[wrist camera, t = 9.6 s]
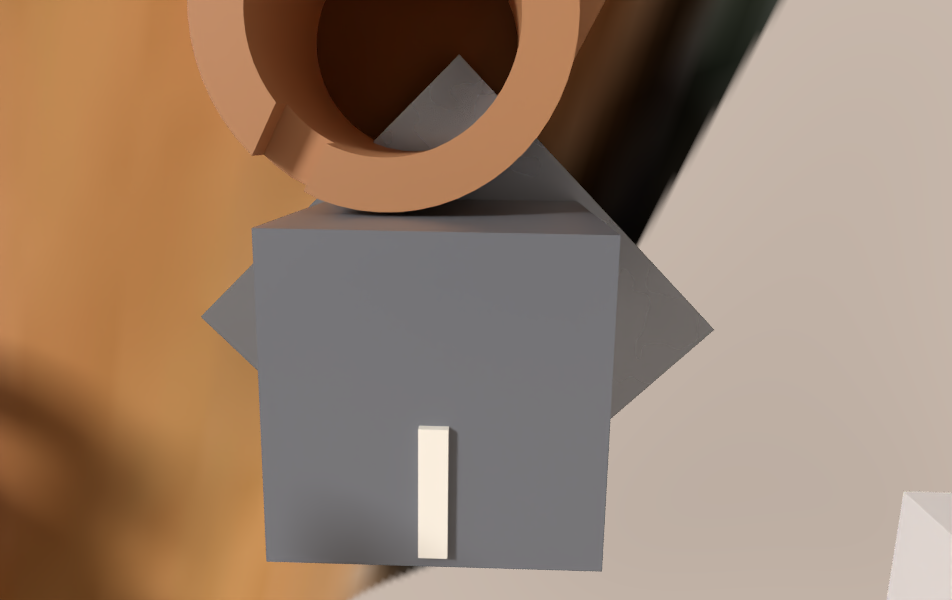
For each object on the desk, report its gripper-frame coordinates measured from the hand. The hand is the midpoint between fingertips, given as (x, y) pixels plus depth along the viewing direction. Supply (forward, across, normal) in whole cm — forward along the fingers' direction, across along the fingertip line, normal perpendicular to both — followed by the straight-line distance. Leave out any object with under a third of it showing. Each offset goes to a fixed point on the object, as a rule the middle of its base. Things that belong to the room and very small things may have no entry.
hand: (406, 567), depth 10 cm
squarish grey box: (+13, 0, 0) cm, 13 cm away
